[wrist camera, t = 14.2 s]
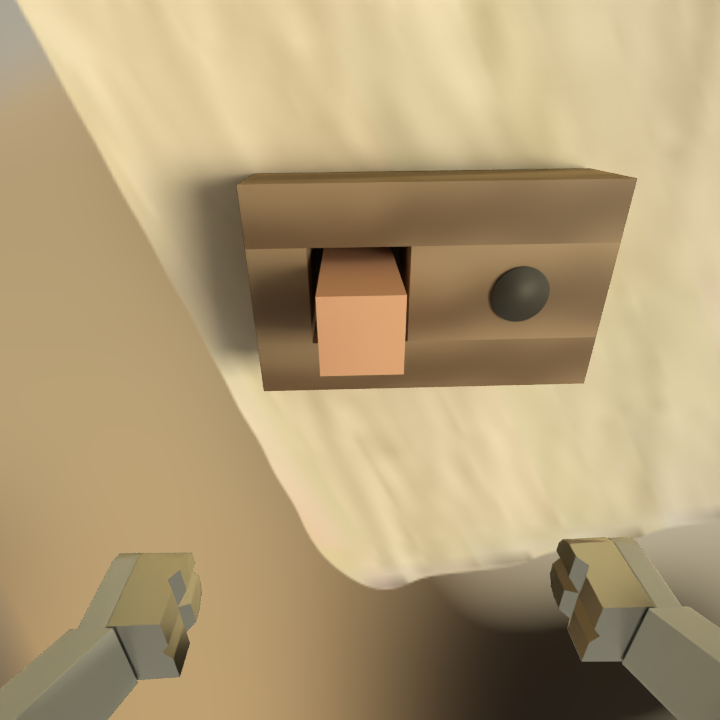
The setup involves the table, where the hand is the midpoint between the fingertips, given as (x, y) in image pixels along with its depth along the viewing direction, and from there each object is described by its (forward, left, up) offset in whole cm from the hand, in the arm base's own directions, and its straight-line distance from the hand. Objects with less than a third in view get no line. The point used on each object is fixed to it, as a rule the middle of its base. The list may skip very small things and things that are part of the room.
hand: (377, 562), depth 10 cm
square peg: (0, 0, -22) cm, 22 cm away
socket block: (0, +4, -22) cm, 22 cm away
